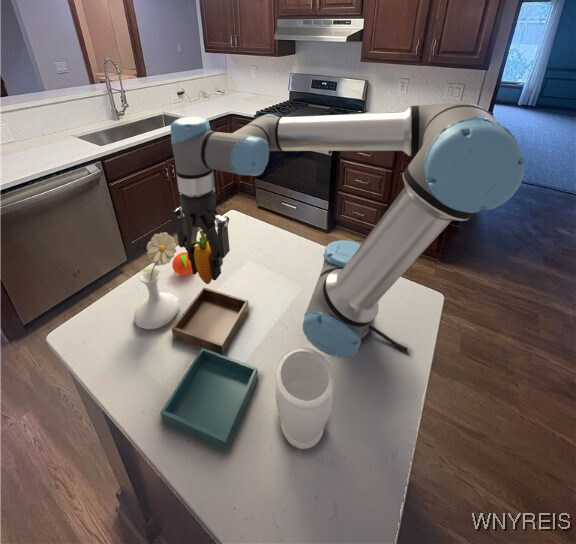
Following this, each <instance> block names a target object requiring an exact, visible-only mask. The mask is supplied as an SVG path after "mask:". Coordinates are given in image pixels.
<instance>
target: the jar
mask: <svg viewBox="0 0 576 544" xmlns="http://www.w3.org/2000/svg"><path fill="white" fill-rule="evenodd" d="M275 382H276V387H275V404H276V409H277V413H278V417H279V420H280V427H281V431H282V433H283V436H284V438H285V439H286V440H287V442H288V443H289V444H290V445H291V446H293V447H294V448H296V449H299V450H307V449H311V448H313V447H314V446H316V445H317V444H318V443H319V442H320V441H321V439H322V436H323V433H324V429H325V427H326V424H327V421H328V419H329V417H330V414H331V411H332V406H333V404H332V403H333V389H334V384H335V378H334V371H333V369H332V366H331V364H330V362H329V361H328V360H327V359H326V357H325V356H324V355H323V354H321V352H319V351H317V350H315V349H313V348H309V347H296V348H292V349H290V350H288V351H287V352H285V353H284V354H283V355H282V356H281V357H280V359H279V360H278V362H277V365H276V368H275Z"/></svg>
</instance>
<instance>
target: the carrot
mask: <svg viewBox="0 0 576 544" xmlns="http://www.w3.org/2000/svg"><path fill="white" fill-rule="evenodd" d="M199 234H200V237H199V238H198V240H199V241H198V240H197V239H196V240H192V243H196V245H195V246H196V247H195V249H194V259H195V265H196V269H197V271H198V272H197V274H198V277H199V278H200V279H201V281H202V282H203V283H205V284H206V285H209V284H211V281H213V279H212V270H211V260H210V258H211V257H212V252H211V249H210V246H209V243H208V241H207V238H206V235H205V234H204V233H203V231H202V229H201V230H199Z"/></svg>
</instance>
